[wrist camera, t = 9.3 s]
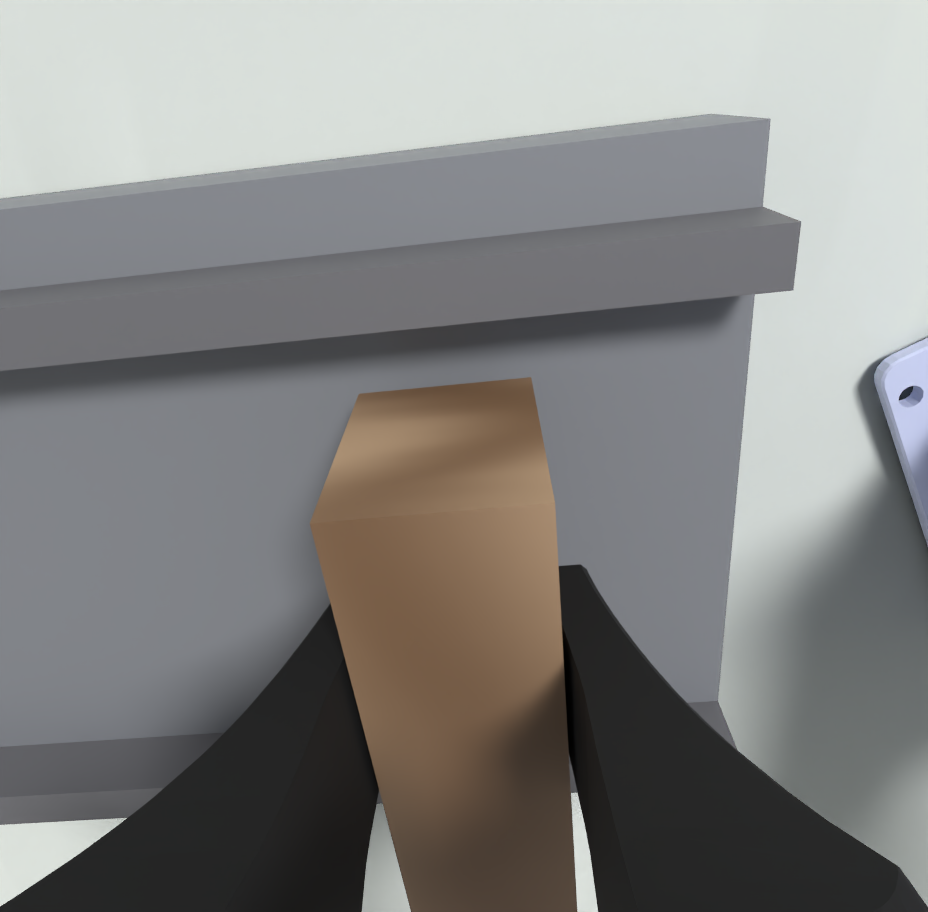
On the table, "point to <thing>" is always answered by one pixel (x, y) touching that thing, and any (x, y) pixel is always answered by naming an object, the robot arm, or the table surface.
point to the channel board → (350, 411)
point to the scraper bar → (456, 639)
